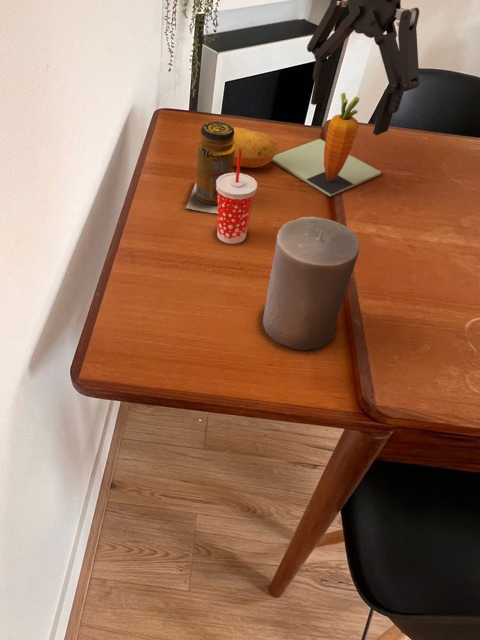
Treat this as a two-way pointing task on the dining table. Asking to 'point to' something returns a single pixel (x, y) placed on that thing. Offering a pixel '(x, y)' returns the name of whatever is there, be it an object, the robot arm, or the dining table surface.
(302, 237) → the pillar candle
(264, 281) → the dining table surface
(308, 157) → the corner mat
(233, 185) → the beverage cup
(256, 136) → the potato
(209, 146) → the condiment
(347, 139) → the carrot
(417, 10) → the robot arm
